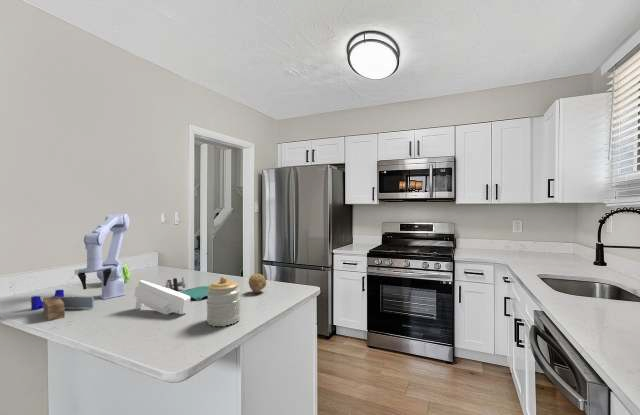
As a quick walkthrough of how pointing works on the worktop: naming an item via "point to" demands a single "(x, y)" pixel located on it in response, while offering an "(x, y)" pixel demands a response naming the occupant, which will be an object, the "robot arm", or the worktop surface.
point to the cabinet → (53, 308)
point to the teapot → (125, 273)
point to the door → (78, 302)
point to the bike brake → (175, 284)
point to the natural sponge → (257, 282)
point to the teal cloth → (197, 292)
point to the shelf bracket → (161, 298)
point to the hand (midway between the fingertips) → (95, 287)
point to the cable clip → (37, 302)
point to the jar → (223, 303)
